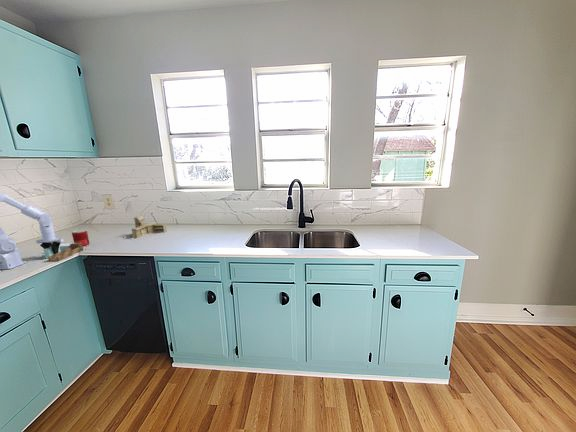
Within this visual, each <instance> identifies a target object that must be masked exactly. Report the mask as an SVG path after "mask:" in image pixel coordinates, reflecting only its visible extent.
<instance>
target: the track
mask: <svg viewBox="0 0 576 432" xmlns="http://www.w3.org/2000/svg"><path fill="white" fill-rule="evenodd" d="M71 243H72V244H70V248H68V249H66V250H64V251H61V252H59V253H57V254H54V255H52V256H49V257H48V259H47V260H48V262H50V263H51V262H60V261H63V260H65V259H67V258H69V257H71V256H74V255H76V254H78V253H81V252H83V251H84V247H82V243H74V242H71Z"/></svg>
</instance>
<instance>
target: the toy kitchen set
mask: <svg viewBox="0 0 576 432" xmlns="http://www.w3.org/2000/svg"><path fill="white" fill-rule="evenodd" d="M133 220H134V225H135V227H134V228H131V234H132V238H133V239H138V238H141V237H142V236H146V235H147V234H148V235H149V234H154V233H167V230H168V229H167V224H166V223H165V222H155V223H154V222H152V223H151V222H149V223H144V222H146V219H145V218H144V217H143V216H142V215H138V216H134V218H133ZM142 222H143V223H144V224H142Z"/></svg>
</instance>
